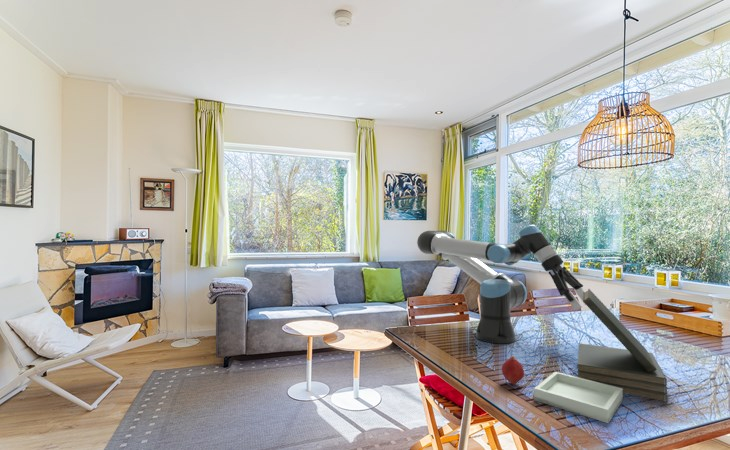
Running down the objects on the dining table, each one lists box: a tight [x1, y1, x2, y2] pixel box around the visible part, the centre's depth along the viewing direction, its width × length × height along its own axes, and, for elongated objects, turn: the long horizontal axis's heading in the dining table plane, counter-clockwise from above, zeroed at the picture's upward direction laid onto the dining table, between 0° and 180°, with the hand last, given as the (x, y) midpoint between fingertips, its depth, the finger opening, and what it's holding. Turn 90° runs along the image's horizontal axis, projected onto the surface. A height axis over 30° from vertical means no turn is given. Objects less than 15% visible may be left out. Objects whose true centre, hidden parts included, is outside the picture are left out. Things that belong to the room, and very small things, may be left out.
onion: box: [501, 355, 525, 386], centre depth 102 cm, size 6×6×8 cm
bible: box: [577, 288, 668, 403], centre depth 106 cm, size 23×20×25 cm
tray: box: [533, 371, 624, 424], centre depth 92 cm, size 16×16×3 cm
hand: (584, 306), depth 136 cm, fingers open, 13 cm apart
